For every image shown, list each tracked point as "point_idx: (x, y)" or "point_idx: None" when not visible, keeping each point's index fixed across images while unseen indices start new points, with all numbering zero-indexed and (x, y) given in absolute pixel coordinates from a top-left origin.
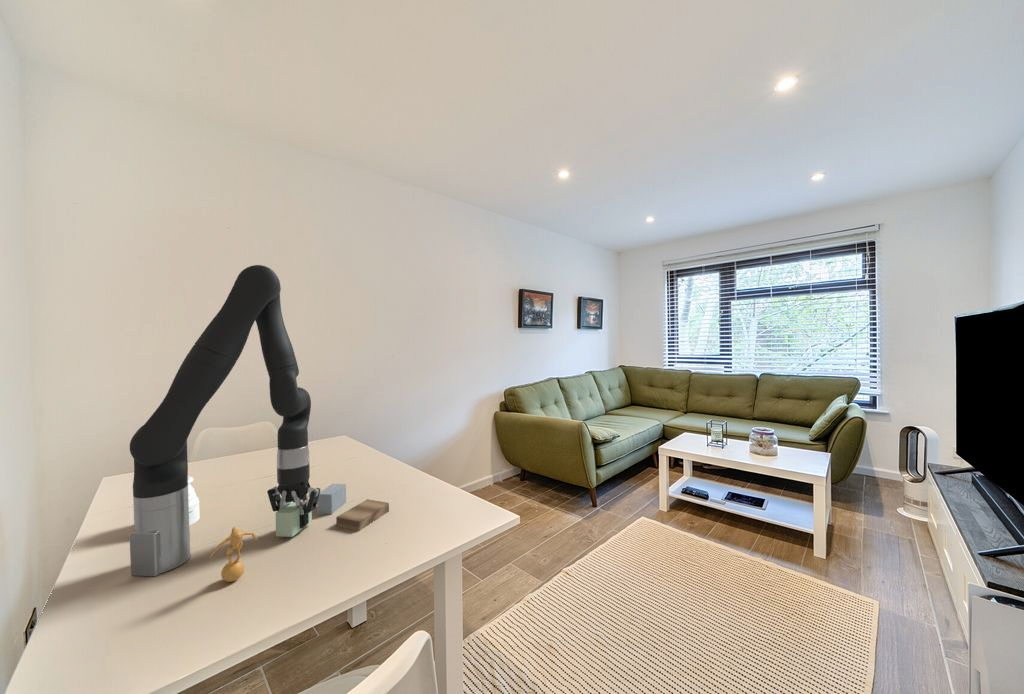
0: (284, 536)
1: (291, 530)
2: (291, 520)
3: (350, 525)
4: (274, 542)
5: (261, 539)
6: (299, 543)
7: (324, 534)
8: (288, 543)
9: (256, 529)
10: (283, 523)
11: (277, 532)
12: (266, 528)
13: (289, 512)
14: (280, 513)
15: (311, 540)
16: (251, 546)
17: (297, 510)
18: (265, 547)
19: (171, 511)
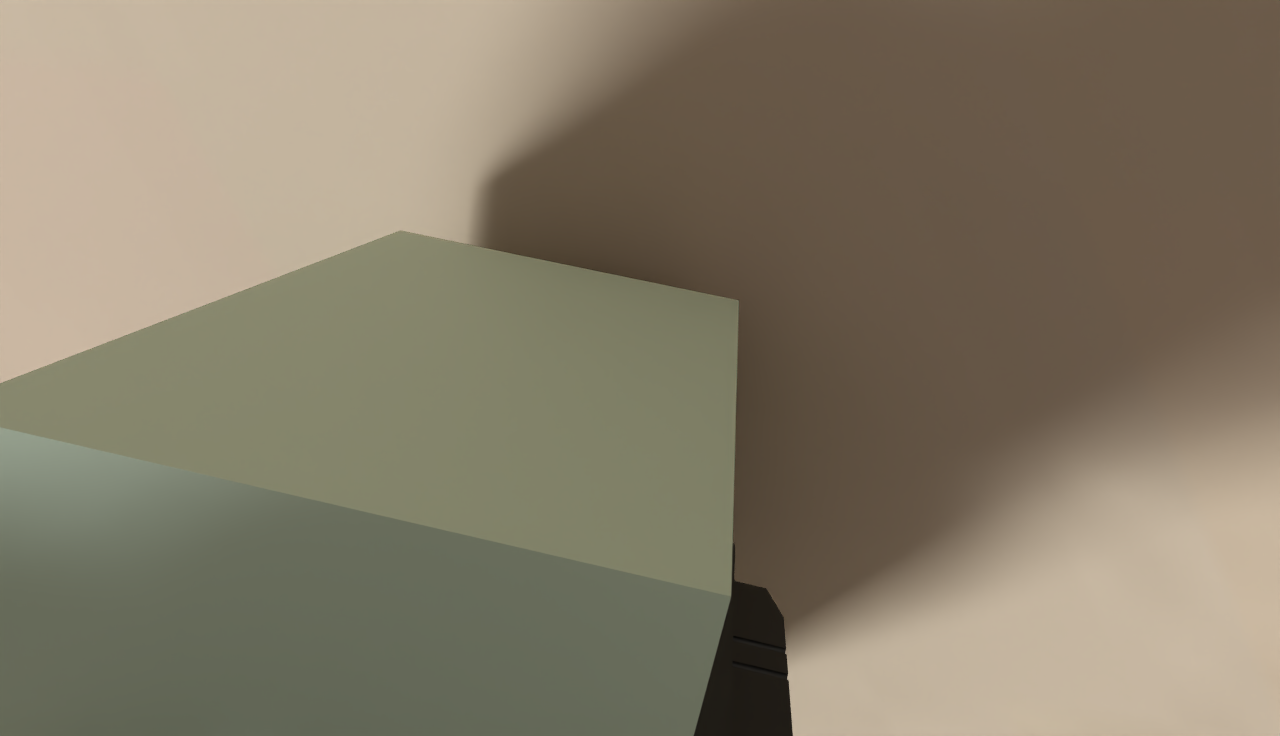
0: (560, 264)
1: (355, 260)
2: (177, 318)
3: None
4: (721, 187)
5: (1028, 336)
6: (241, 90)
7: (27, 344)
8: (438, 115)
9: (1267, 697)
10: (495, 351)
11: (702, 316)
12: (1094, 695)
13: (106, 528)
14: (478, 526)
15: (103, 173)
16: (1126, 80)
17: (1, 680)
18: (808, 4)
19: None
